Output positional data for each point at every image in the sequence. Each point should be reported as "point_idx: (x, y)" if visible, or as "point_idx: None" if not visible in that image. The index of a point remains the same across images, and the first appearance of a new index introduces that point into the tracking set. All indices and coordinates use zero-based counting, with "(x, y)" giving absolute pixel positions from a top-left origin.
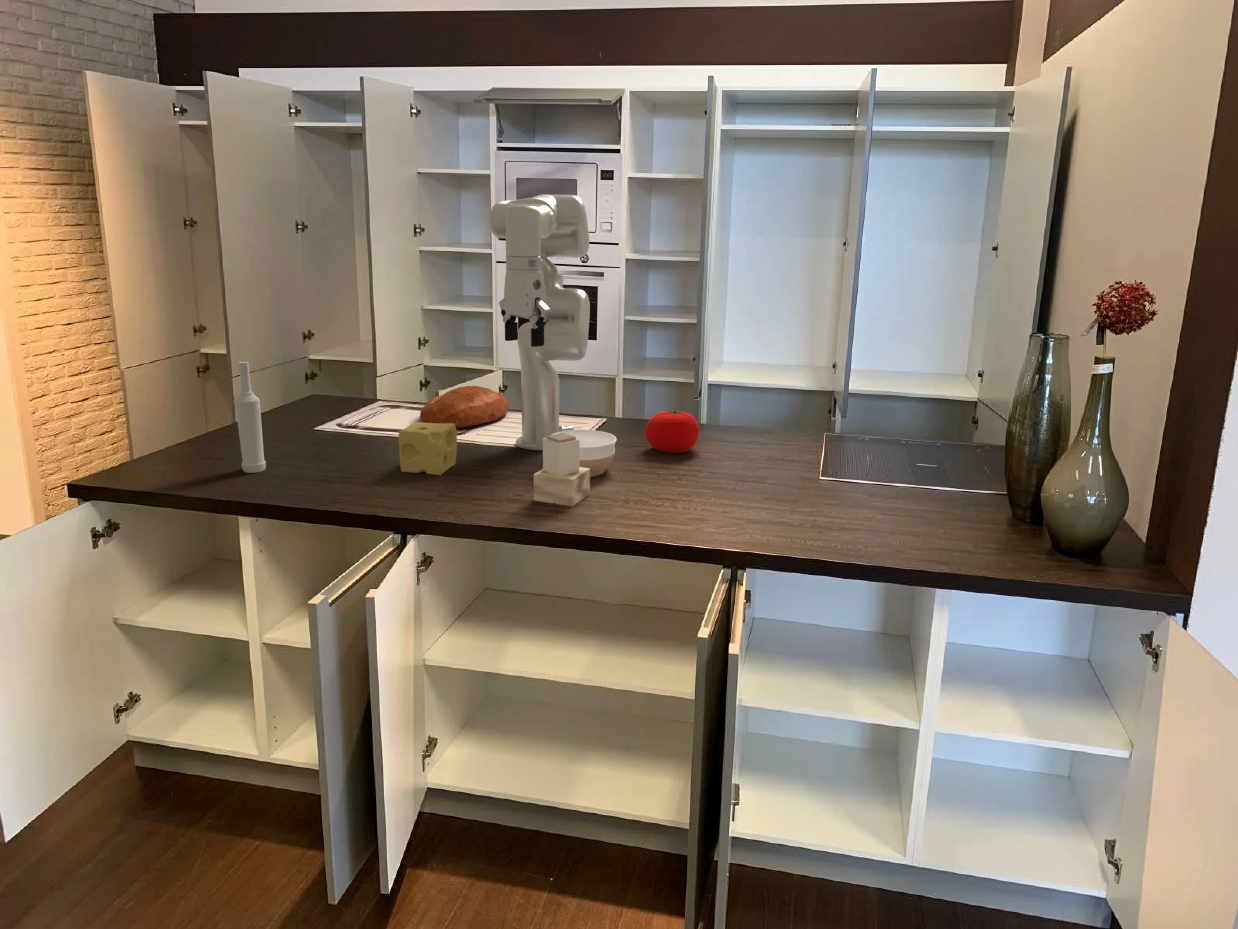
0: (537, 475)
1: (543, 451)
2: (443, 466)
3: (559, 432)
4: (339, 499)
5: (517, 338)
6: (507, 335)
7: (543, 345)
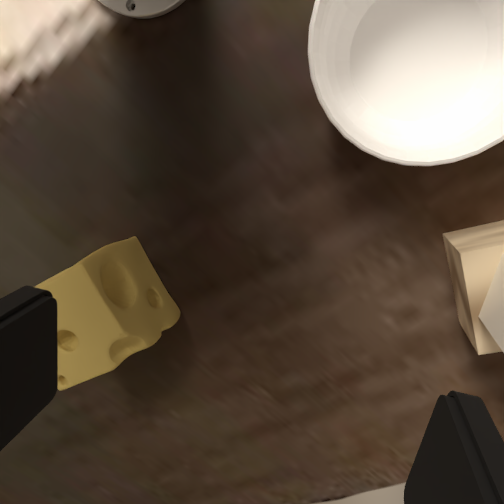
0: (490, 352)
1: (499, 343)
2: (169, 307)
3: (314, 36)
4: (172, 486)
5: (49, 301)
6: (27, 423)
7: (474, 397)
